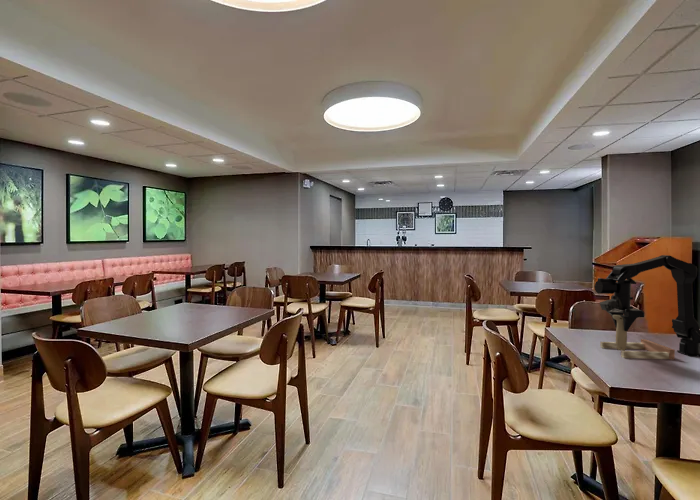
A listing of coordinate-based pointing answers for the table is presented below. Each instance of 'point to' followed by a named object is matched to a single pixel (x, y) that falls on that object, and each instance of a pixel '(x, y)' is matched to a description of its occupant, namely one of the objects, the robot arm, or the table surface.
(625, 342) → the handle
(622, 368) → the table surface
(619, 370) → the table surface
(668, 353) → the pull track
